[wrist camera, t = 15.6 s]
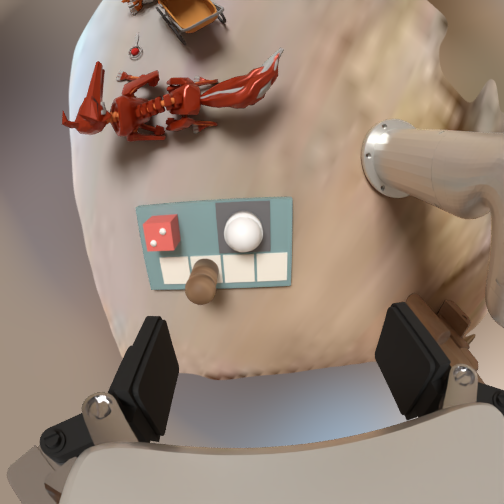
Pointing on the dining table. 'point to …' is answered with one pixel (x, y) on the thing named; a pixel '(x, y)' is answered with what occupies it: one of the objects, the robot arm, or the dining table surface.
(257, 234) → the dome
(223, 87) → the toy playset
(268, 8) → the dining table surface
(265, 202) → the board
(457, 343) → the wooden toy
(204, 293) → the brown rounded capsule
